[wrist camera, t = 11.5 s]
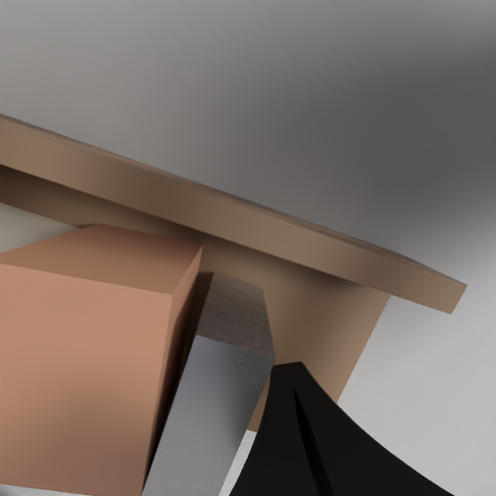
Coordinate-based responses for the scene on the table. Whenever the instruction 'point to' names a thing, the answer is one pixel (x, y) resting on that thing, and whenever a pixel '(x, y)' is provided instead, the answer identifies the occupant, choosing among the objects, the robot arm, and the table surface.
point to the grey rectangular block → (214, 392)
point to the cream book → (27, 228)
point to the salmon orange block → (91, 356)
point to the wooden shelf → (228, 247)
